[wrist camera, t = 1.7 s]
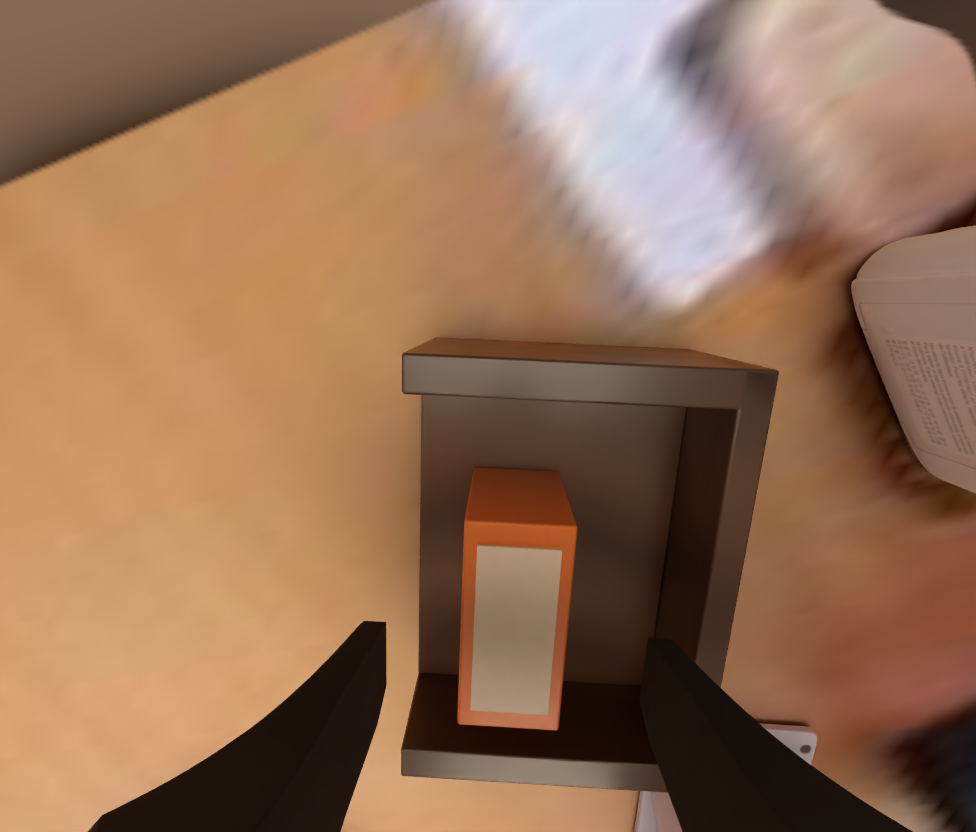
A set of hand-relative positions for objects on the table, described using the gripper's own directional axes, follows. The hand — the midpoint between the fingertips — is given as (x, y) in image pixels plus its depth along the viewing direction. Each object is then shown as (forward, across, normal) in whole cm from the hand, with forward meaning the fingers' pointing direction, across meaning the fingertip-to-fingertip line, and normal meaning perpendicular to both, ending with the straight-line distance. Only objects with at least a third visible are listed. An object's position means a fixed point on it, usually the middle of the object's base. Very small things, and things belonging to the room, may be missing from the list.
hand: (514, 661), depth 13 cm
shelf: (+9, -1, 0) cm, 9 cm away
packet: (+6, 0, 0) cm, 6 cm away
